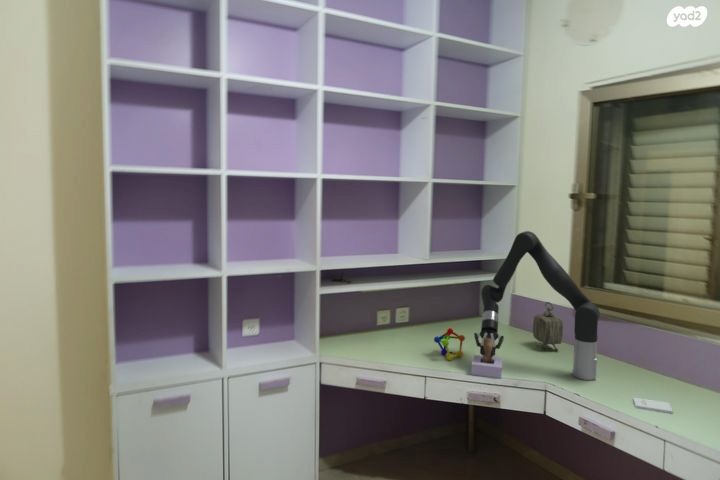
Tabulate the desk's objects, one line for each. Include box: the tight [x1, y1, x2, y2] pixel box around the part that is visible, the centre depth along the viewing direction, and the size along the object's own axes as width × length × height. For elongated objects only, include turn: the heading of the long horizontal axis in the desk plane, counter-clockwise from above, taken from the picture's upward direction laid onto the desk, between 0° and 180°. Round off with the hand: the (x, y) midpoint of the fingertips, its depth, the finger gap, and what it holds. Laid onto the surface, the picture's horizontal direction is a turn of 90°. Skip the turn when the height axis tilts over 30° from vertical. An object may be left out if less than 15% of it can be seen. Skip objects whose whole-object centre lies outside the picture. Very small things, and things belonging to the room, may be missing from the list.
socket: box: [470, 354, 503, 379], centre depth 223 cm, size 13×13×5 cm
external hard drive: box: [632, 397, 674, 415], centre depth 189 cm, size 2×8×12 cm
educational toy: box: [433, 327, 466, 361], centre depth 242 cm, size 16×13×15 cm
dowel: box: [482, 338, 493, 364], centre depth 222 cm, size 4×4×14 cm
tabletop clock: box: [532, 301, 564, 352], centre depth 256 cm, size 14×9×25 cm, turn 9°
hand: (487, 355), depth 220 cm, fingers closed on dowel, 4 cm apart
